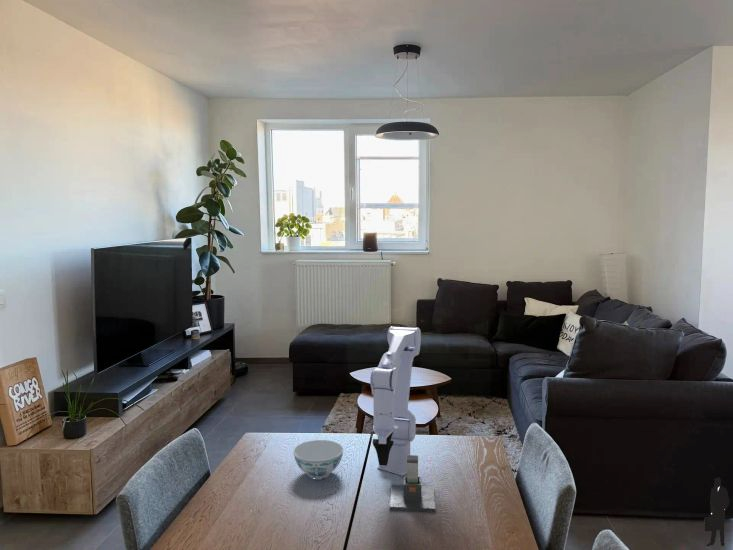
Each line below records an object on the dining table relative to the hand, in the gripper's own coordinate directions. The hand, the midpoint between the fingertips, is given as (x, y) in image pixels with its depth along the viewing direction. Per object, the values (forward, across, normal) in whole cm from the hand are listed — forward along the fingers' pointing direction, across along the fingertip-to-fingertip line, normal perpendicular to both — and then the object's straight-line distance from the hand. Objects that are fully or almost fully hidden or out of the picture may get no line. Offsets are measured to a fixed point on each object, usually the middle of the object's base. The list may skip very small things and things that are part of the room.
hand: (384, 458), depth 147 cm
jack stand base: (+10, -2, -8) cm, 13 cm away
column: (+6, -2, -8) cm, 10 cm away
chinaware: (+11, +11, +20) cm, 25 cm away
